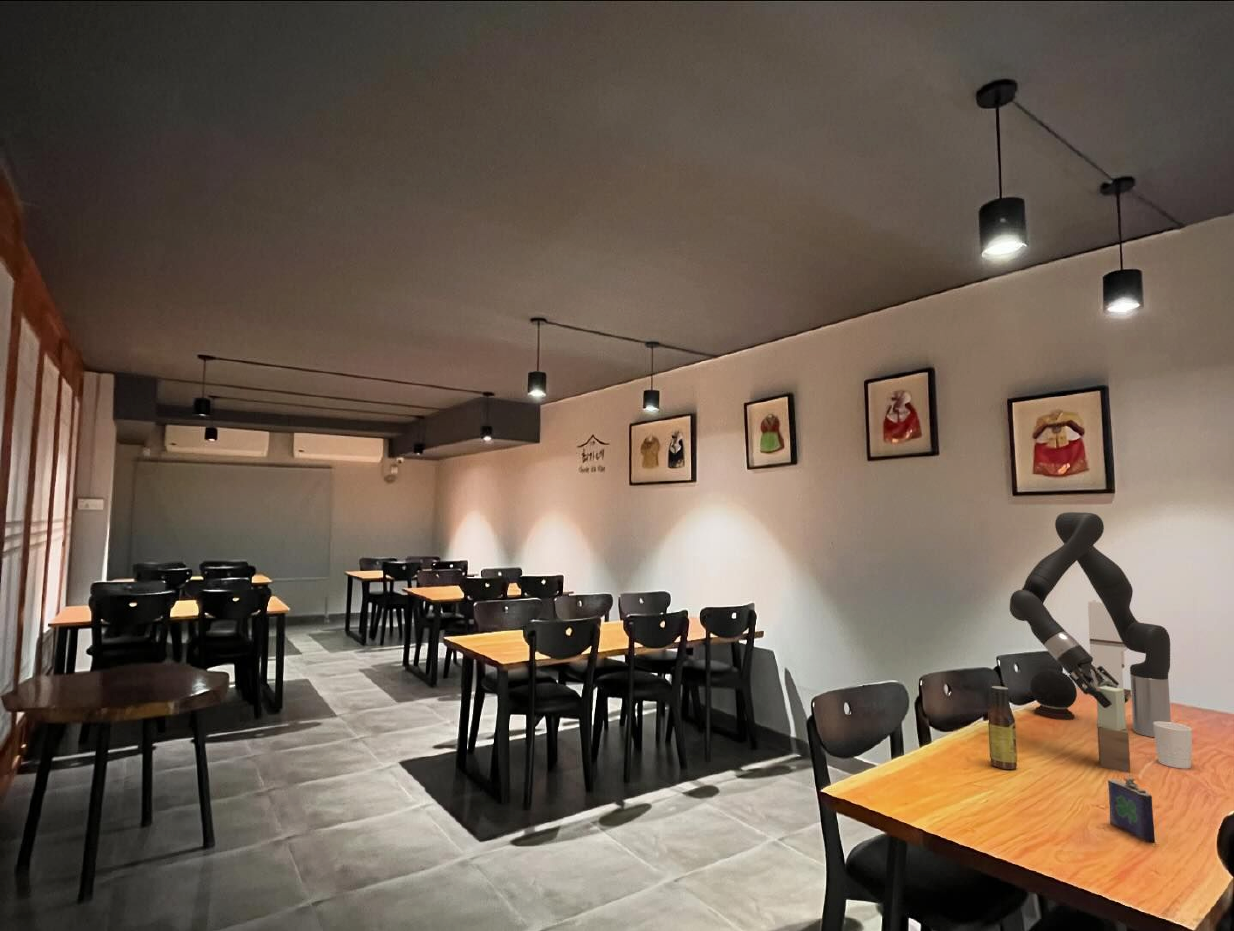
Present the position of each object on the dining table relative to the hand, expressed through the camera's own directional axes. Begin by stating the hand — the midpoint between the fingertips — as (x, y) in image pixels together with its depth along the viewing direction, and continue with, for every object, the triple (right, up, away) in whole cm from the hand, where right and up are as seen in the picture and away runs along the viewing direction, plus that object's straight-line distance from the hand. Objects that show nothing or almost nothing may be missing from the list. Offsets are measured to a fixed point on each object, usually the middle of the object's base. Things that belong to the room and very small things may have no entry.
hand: (1117, 704), depth 174 cm
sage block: (-1, -6, +1) cm, 6 cm away
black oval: (+16, -21, +49) cm, 55 cm away
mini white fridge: (+57, -25, +78) cm, 100 cm away
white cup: (+17, -17, +2) cm, 24 cm away
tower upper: (-1, -11, 0) cm, 11 cm away
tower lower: (-1, -16, 0) cm, 16 cm away
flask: (-26, -12, -39) cm, 48 cm away
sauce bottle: (-31, -16, -1) cm, 35 cm away
